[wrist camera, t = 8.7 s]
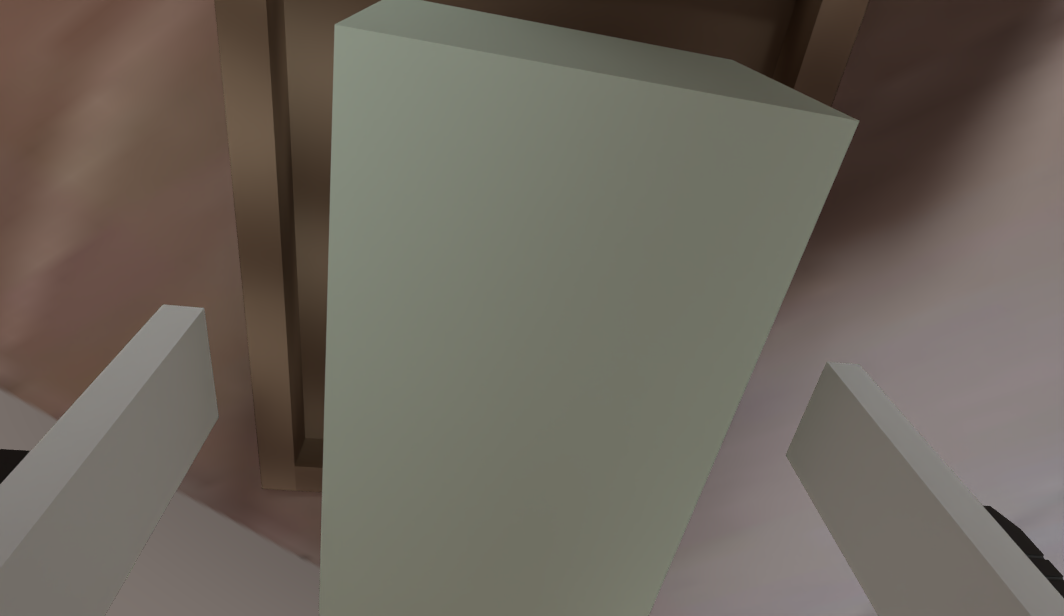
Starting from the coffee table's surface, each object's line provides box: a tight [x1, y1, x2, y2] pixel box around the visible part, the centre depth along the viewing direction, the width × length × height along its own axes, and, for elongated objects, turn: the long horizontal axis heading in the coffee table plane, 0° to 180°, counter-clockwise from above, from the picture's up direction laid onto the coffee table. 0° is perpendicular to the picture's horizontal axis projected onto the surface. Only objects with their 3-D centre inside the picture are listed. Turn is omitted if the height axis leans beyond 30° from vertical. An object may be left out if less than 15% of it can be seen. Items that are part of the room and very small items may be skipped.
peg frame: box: [214, 0, 869, 492], centre depth 19 cm, size 20×16×4 cm
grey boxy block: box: [319, 0, 859, 616], centre depth 15 cm, size 14×8×6 cm, turn 170°
